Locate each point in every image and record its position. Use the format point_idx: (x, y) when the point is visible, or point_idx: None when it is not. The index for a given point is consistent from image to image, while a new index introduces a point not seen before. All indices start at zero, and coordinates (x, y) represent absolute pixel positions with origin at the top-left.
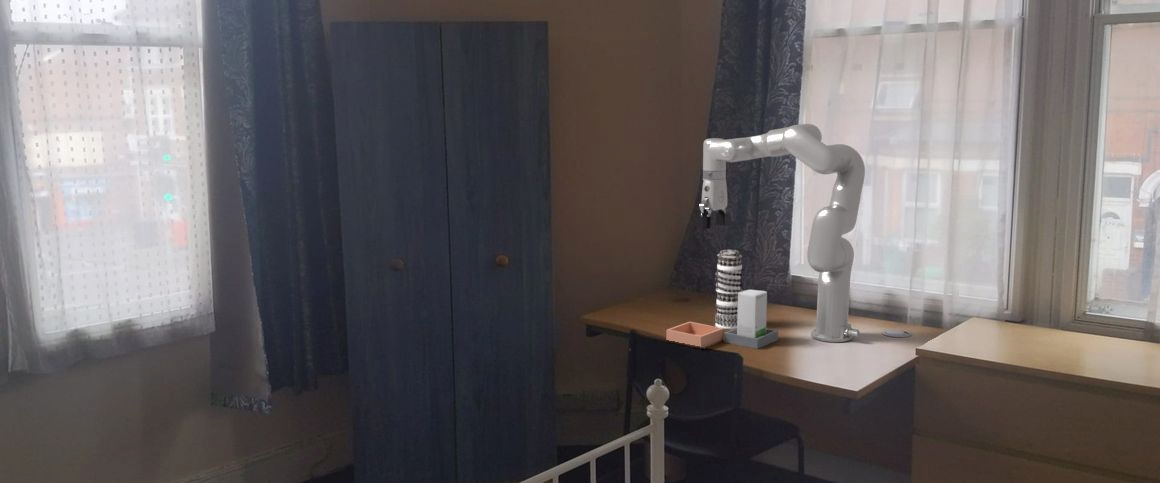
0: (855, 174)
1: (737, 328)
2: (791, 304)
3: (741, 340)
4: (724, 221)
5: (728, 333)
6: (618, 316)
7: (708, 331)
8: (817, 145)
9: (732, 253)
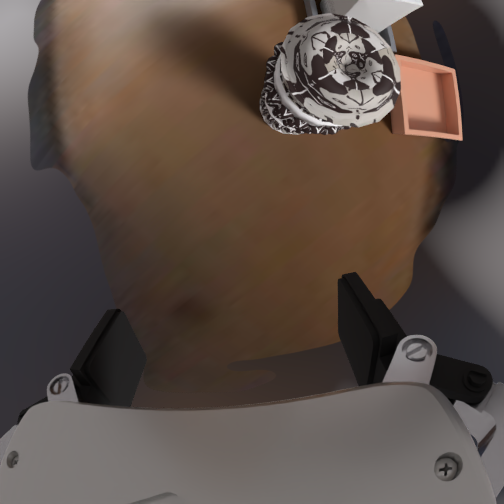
0: None
1: (384, 28)
2: (53, 145)
3: None
4: (105, 321)
5: (394, 43)
6: None
7: None
8: None
9: (374, 34)
